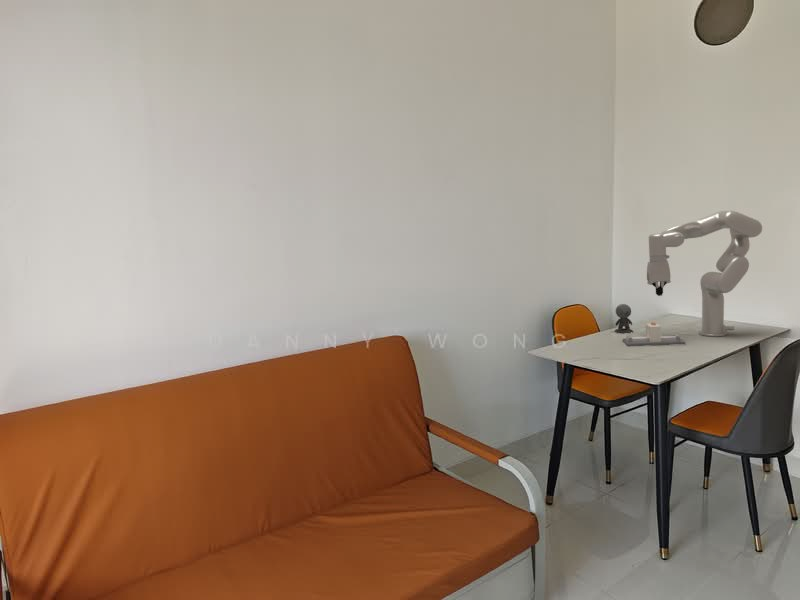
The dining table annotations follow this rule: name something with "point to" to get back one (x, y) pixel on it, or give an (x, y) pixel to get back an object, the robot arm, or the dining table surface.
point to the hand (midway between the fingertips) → (659, 295)
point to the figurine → (623, 319)
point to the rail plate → (645, 341)
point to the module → (653, 332)
